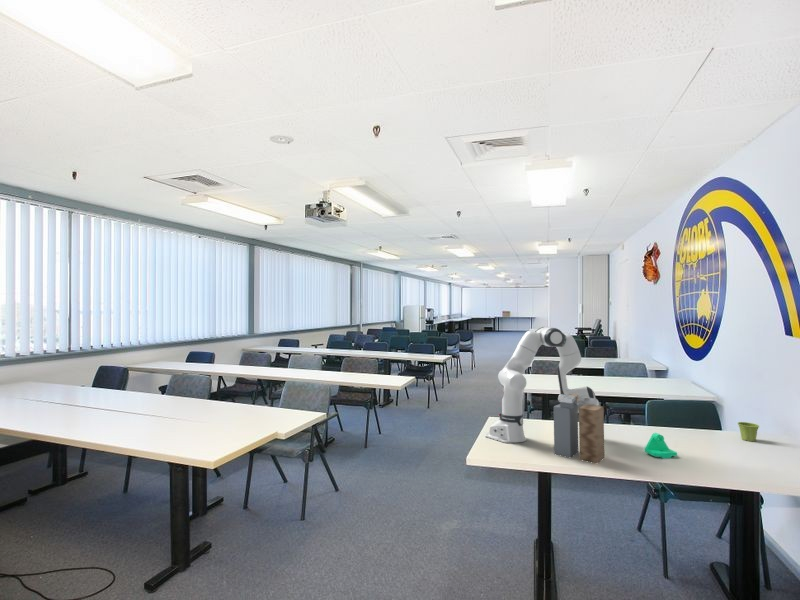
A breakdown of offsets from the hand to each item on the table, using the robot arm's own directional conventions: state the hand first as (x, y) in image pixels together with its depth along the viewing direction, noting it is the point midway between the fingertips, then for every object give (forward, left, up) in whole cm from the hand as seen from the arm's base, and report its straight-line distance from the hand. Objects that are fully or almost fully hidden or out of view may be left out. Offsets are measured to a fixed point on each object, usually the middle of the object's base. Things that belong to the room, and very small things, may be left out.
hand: (573, 395), depth 223 cm
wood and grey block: (+1, -6, -3) cm, 7 cm away
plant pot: (+67, +77, -28) cm, 106 cm away
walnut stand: (+12, -11, -27) cm, 32 cm away
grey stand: (0, -11, -27) cm, 29 cm away
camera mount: (+36, +17, -28) cm, 49 cm away
